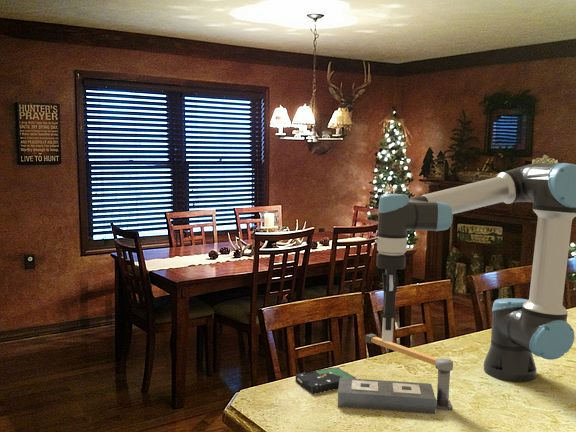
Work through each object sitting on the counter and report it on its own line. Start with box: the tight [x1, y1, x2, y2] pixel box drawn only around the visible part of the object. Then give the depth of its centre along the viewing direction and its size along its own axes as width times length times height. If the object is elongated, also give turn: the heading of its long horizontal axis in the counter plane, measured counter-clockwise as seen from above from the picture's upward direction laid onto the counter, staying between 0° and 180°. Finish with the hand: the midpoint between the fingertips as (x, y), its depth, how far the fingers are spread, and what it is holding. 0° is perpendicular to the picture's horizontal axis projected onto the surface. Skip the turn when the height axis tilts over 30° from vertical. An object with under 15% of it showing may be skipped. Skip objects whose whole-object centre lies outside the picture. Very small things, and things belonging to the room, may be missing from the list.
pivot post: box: [435, 369, 453, 411], centre depth 145 cm, size 4×4×10 cm
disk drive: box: [294, 366, 357, 395], centre depth 159 cm, size 10×3×15 cm
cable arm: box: [364, 333, 454, 372], centre depth 154 cm, size 30×4×2 cm, turn 38°
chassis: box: [337, 378, 437, 415], centre depth 147 cm, size 25×10×4 cm, turn 82°
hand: (387, 340), depth 145 cm, fingers closed
